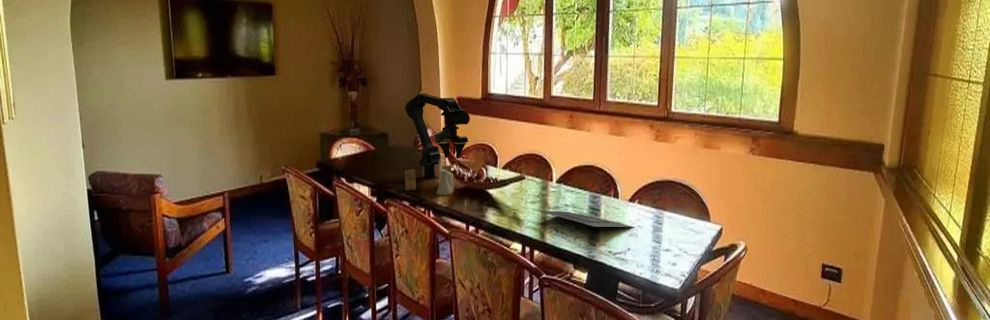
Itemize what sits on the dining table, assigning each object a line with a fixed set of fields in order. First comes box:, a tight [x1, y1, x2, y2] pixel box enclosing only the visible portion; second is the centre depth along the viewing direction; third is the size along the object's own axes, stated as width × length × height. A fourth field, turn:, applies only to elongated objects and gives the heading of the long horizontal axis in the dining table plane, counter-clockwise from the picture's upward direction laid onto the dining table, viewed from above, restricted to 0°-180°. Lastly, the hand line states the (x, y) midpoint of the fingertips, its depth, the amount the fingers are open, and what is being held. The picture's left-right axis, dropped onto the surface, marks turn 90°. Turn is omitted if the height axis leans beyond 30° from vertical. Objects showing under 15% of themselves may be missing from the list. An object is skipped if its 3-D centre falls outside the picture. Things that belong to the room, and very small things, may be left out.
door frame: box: [404, 164, 453, 191], centre depth 289 cm, size 2×23×9 cm, turn 118°
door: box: [439, 168, 455, 192], centre depth 286 cm, size 12×3×8 cm, turn 28°
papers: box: [540, 210, 633, 228], centre depth 235 cm, size 24×30×4 cm
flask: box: [436, 171, 453, 196], centre depth 278 cm, size 7×7×10 cm
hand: (452, 158), depth 292 cm, fingers open, 9 cm apart
